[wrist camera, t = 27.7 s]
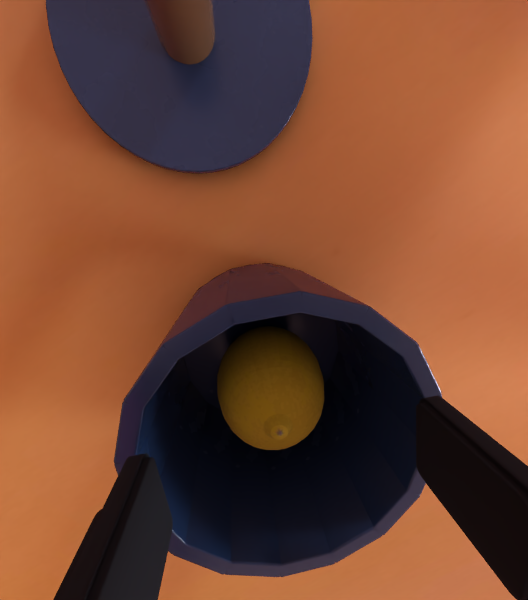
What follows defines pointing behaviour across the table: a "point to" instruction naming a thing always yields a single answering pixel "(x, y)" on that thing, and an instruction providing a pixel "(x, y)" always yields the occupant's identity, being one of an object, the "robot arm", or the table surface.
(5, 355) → the table surface
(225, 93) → the lid
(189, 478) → the pail
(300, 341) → the lemon
